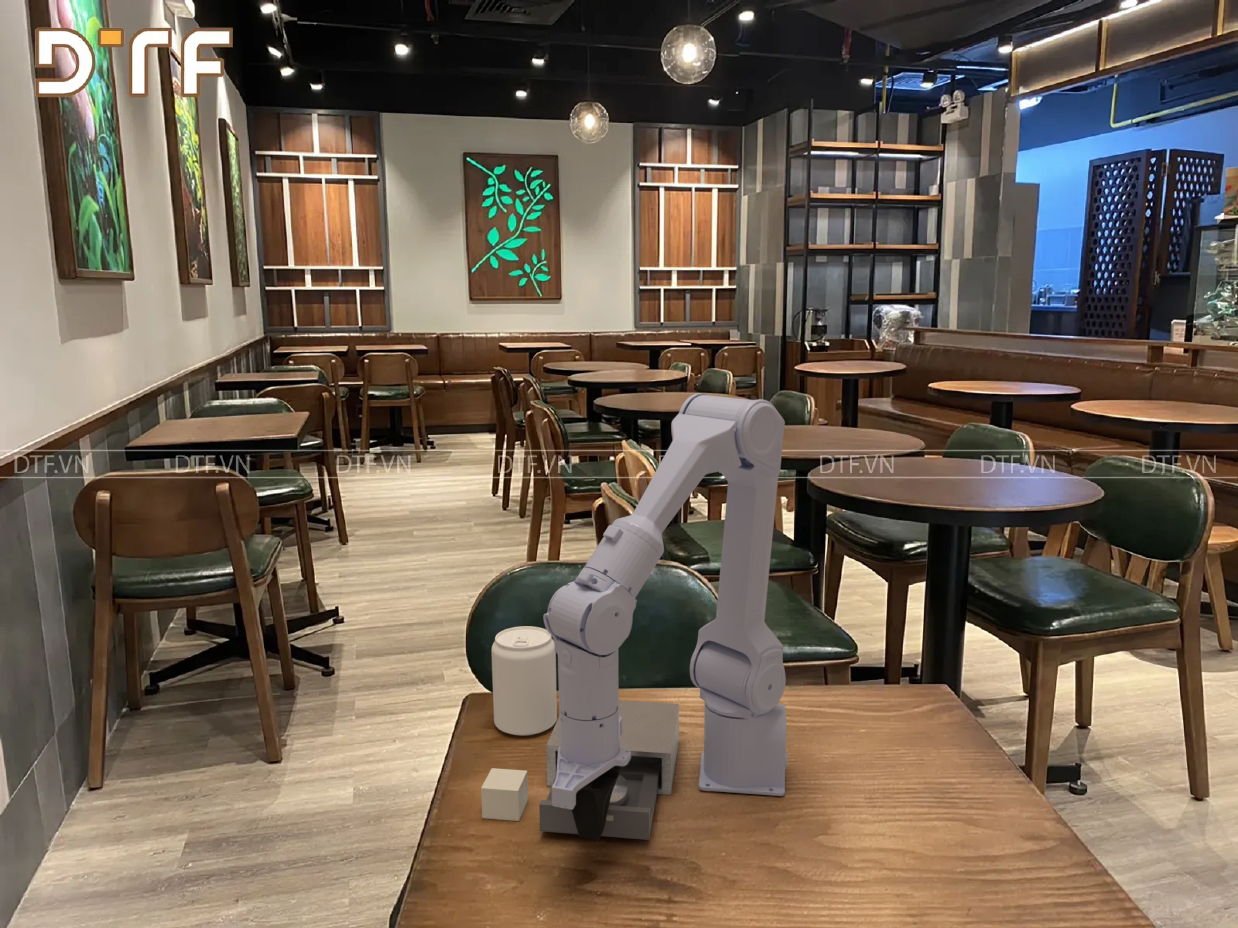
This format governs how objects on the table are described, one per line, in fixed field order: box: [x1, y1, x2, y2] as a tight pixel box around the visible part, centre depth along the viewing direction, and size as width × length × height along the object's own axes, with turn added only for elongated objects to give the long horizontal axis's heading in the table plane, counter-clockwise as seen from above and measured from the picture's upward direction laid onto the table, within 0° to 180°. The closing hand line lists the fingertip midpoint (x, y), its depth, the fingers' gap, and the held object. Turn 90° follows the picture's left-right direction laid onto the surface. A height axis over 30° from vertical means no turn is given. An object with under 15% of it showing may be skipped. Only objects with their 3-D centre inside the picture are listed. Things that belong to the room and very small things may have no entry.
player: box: [545, 699, 680, 796], centre depth 103 cm, size 14×12×5 cm
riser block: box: [480, 767, 529, 822], centre depth 94 cm, size 4×4×4 cm
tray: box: [538, 765, 660, 841], centre depth 93 cm, size 11×11×3 cm
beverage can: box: [491, 625, 558, 737], centre depth 112 cm, size 8×8×12 cm
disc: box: [609, 775, 628, 806], centre depth 93 cm, size 5×5×2 cm
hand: (590, 834), depth 86 cm, fingers closed
